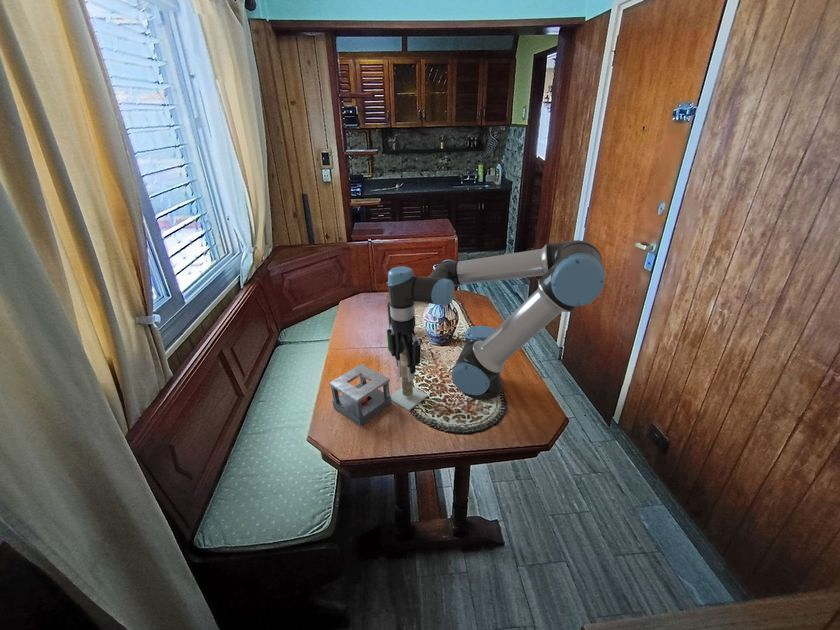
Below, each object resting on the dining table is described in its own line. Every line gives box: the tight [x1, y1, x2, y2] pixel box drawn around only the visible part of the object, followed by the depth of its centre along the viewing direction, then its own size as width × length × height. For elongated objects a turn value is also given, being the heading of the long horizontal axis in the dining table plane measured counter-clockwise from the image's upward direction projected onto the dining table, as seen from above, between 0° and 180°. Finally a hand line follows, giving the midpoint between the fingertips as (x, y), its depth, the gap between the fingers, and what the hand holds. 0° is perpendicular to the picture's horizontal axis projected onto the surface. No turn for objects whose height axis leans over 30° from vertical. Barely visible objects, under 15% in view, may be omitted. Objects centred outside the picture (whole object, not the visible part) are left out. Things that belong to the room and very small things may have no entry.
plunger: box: [361, 396, 368, 405], centre depth 130 cm, size 4×4×5 cm
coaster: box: [390, 386, 429, 412], centre depth 134 cm, size 10×10×1 cm
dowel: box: [400, 350, 414, 396], centre depth 130 cm, size 4×4×16 cm
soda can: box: [386, 324, 406, 354], centre depth 159 cm, size 8×8×12 cm
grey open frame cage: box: [328, 363, 393, 427], centre depth 129 cm, size 14×14×10 cm
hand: (406, 377), depth 130 cm, fingers closed on dowel, 3 cm apart
